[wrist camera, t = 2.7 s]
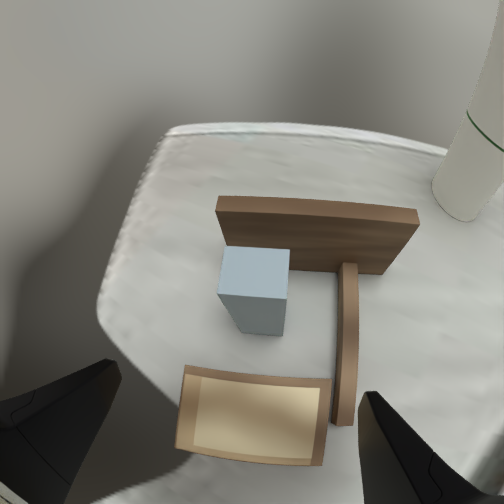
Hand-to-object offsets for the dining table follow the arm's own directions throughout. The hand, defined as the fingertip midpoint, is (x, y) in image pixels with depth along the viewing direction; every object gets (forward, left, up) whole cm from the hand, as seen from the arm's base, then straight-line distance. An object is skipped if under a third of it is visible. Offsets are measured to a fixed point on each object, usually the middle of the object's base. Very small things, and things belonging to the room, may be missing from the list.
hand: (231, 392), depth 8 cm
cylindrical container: (+30, -3, -12) cm, 32 cm away
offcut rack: (+3, 0, -12) cm, 12 cm away
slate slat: (+4, +4, -12) cm, 13 cm away
